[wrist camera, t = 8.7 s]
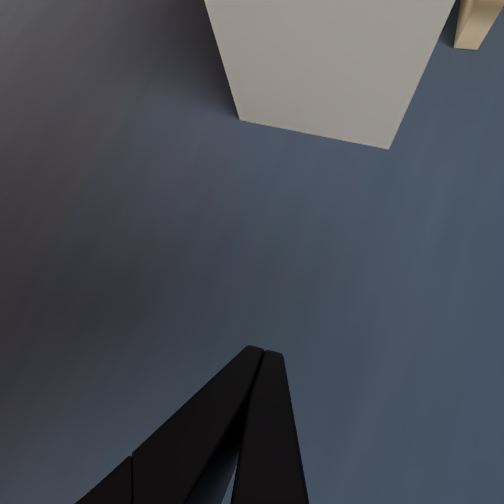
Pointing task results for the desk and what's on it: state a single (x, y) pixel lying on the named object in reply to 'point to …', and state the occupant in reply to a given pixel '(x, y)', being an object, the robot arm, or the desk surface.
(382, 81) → the white cardboard box
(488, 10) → the birch slot
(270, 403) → the robot arm
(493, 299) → the desk surface
